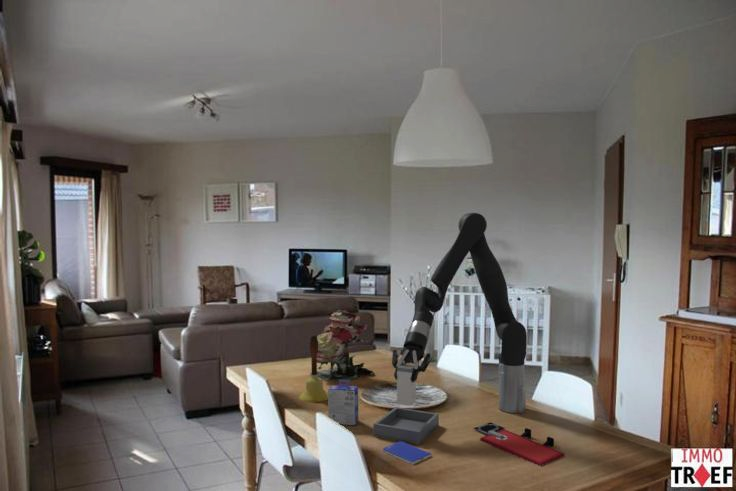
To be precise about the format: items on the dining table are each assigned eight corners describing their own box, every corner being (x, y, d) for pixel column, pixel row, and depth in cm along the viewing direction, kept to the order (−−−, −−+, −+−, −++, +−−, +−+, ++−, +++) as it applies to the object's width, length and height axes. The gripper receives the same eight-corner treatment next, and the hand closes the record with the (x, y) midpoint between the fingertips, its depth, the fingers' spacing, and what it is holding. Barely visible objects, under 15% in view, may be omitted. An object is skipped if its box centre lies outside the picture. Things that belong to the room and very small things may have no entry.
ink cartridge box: (359, 420, 188) (358, 379, 188) (355, 425, 183) (355, 384, 182) (332, 418, 190) (331, 378, 190) (327, 424, 185) (327, 382, 184)
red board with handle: (494, 423, 184) (463, 434, 175) (494, 415, 184) (463, 426, 175) (571, 454, 160) (540, 468, 151) (571, 445, 160) (540, 459, 151)
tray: (438, 425, 183) (438, 413, 182) (419, 444, 166) (419, 432, 166) (395, 418, 190) (395, 407, 190) (373, 436, 174) (373, 424, 173)
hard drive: (382, 448, 162) (412, 461, 153) (401, 440, 167) (431, 452, 158) (382, 453, 162) (412, 466, 153) (401, 445, 167) (431, 458, 158)
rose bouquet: (331, 364, 265) (330, 304, 264) (380, 373, 248) (379, 309, 247) (295, 376, 244) (295, 311, 243) (346, 387, 228) (345, 317, 227)
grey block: (415, 401, 178) (415, 366, 178) (411, 405, 175) (411, 369, 174) (401, 399, 181) (401, 364, 180) (397, 403, 177) (397, 367, 177)
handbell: (326, 391, 222) (325, 331, 221) (333, 400, 210) (332, 337, 209) (296, 394, 218) (295, 333, 217) (302, 403, 207) (301, 339, 206)
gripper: (395, 328, 187) (381, 371, 176) (434, 332, 180) (422, 376, 170) (401, 341, 192) (387, 383, 181) (439, 345, 185) (427, 388, 175)
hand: (404, 379), depth 176 cm, fingers closed on grey block, 5 cm apart
